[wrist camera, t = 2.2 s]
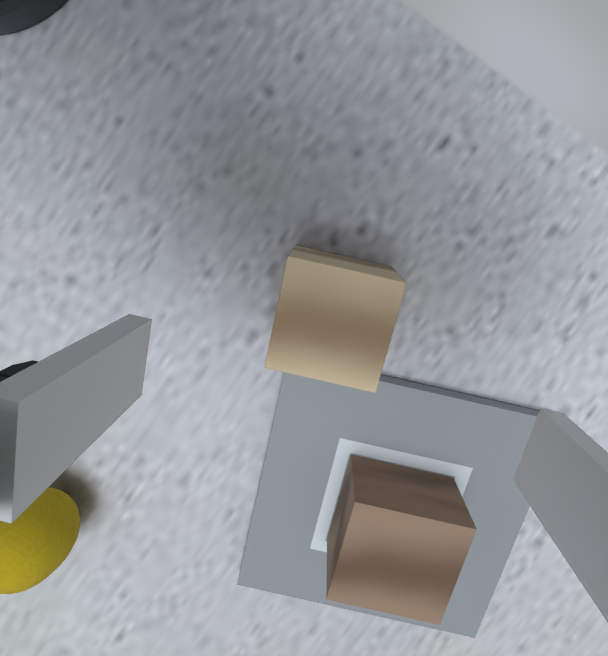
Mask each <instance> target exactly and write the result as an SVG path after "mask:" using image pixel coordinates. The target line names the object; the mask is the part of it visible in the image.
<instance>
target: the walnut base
mask: <svg viewBox="0 0 608 656" xmlns="http://www.w3.org/2000/svg"><path fill="white" fill-rule="evenodd" d="M476 530H477V529H476V526H475V524H474V522H473V520H472V518H471V515H470V513H469V511H468V509H467V506H466V504H465V502H464V500H463V498H462V495H461V493H460V491H459V489H458V486H457V484H456V482H455V480H454V478H453V477H448V476H444V475H439V474H435V473H430V472H426V471H422V470H417V469H413V468H408V467H404V466H400V465H395V464H391V463H386V462H382V461H377V460H373V459H369V458H364V457H360V456H355V455H351V456H350V460H349V463H348V467H347V470H346V474H345V478H344V481H343V485H342V488H341V492H340V495H339V499H338V502H337V506H336V510H335V513H334V517H333V520H332V524H331V527H330V531H329V535H328V538H327V581H326V600H330V601H335V602H339V603H344V604H348V605H353V606H357V607H362V608H366V609H371V610H375V611H379V612H384V613H388V614H393V615H397V616H402V617H406V618H411V619H415V620H420V621H424V622H428V623H433V624H437V625H440V624H441V621H442V618H443V616H444V613H445V611H446V608H447V605H448V603H449V600H450V598H451V595H452V593H453V590H454V587H455V585H456V582H457V580H458V577H459V574H460V572H461V569H462V567H463V564H464V561H465V559H466V556H467V554H468V551H469V549H470V546H471V543H472V541H473V538H474V536H475V533H476Z"/></svg>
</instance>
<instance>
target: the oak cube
mask: <svg viewBox="0 0 608 656" xmlns="http://www.w3.org/2000/svg"><path fill="white" fill-rule="evenodd" d="M405 287H406V282H405V281H404V280H403V279H402V278H401V277H400V275H399V274H398V273H397V272H396V271H395V270H394V269H393V268H392V267H390V266H386V265H382V264H377V263H373V262H368V261H364V260H360V259H355V258H351V257H346V256H342V255H338V254H333V253H329V252H324V251H320V250H316V249H311V248H307V247H302V246H298V245H296V246H295V248H294V249H293V250H292V251H291V252H290V254H289V255H288V257H287V262H286V266H285V271H284V276H283V281H282V286H281V291H280V295H279V300H278V305H277V310H276V315H275V319H274V324H273V329H272V334H271V339H270V344H269V348H268V353H267V358H266V363H265V368H268V369H272V370H277V371H281V372H286V373H290V374H294V375H299V376H303V377H308V378H312V379H317V380H321V381H325V382H330V383H334V384H339V385H343V386H348V387H352V388H356V389H361V390H365V391H370V392H374V393H376V389H377V386H378V382H379V379H380V375H381V371H382V368H383V364H384V361H385V357H386V354H387V350H388V347H389V343H390V340H391V336H392V333H393V329H394V326H395V322H396V319H397V315H398V312H399V308H400V305H401V301H402V298H403V294H404V291H405Z"/></svg>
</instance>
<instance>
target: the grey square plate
mask: <svg viewBox="0 0 608 656" xmlns="http://www.w3.org/2000/svg"><path fill="white" fill-rule="evenodd" d="M538 414H539V411H538V410H534V409H529V408H525V407H521V406H516V405H512V404H507V403H503V402H499V401H494V400H490V399H485V398H481V397H477V396H472V395H468V394H463V393H459V392H455V391H450V390H446V389H441V388H437V387H433V386H428V385H424V384H419V383H415V382H411V381H406V380H402V379H397V378H393V377H389V376H384V375H380V379H379V382H378V386H377V389H376V393H374V392H370V391H365V390H361V389H356V388H352V387H348V386H343V385H339V384H334V383H330V382H325V381H321V380H317V379H312V378H308V377H303V376H299V375H294V374H290V373H286V372H284V376H283V381H282V385H281V390H280V394H279V399H278V403H277V408H276V412H275V417H274V421H273V426H272V430H271V435H270V439H269V444H268V448H267V453H266V457H265V462H264V466H263V471H262V475H261V480H260V484H259V489H258V493H257V498H256V502H255V507H254V511H253V516H252V520H251V525H250V529H249V534H248V538H247V542H246V547H245V551H244V556H243V560H242V565H241V569H240V574H239V578H238V583H237V585H242V586H246V587H251V588H255V589H260V590H264V591H268V592H273V593H277V594H282V595H286V596H291V597H295V598H300V599H304V600H309V601H313V602H317V603H322V604H326V605H331V606H335V607H340V608H344V609H349V610H353V611H358V612H362V613H366V614H371V615H375V616H380V617H384V618H389V619H393V620H398V621H402V622H407V623H411V624H415V625H420V626H424V627H429V628H433V629H438V630H442V631H447V632H451V633H456V634H460V635H465V636H469V637H473V638H475V636H476V634H477V631H478V629H479V626H480V624H481V622H482V619H483V617H484V614H485V612H486V610H487V607H488V605H489V602H490V600H491V598H492V595H493V593H494V590H495V588H496V586H497V583H498V581H499V578H500V576H501V574H502V571H503V569H504V566H505V564H506V562H507V559H508V557H509V554H510V552H511V550H512V547H513V545H514V542H515V540H516V538H517V535H518V533H519V530H520V528H521V526H522V523H523V521H524V518H525V516H526V514H527V511H528V509H529V506H530V505H529V504H528V502H527V501H526V499H525V498H524V496H523V495H522V493H521V492H520V490H519V489H518V487H517V486H516V484H515V483H514V481H513V477H514V475H515V472H516V470H517V467H518V465H519V462H520V459H521V457H522V454H523V452H524V449H525V447H526V444H527V442H528V439H529V437H530V434H531V431H532V429H533V426H534V424H535V421H536V419H537V416H538ZM351 455H355V456H360V457H364V458H369V459H373V460H377V461H382V462H386V463H391V464H395V465H400V466H404V467H408V468H413V469H417V470H422V471H426V472H430V473H435V474H439V475H444V476H448V477H453V478H454V480H455V482H456V484H457V486H458V489H459V491H460V493H461V495H462V498H463V500H464V502H465V504H466V506H467V509H468V511H469V513H470V515H471V518H472V520H473V522H474V524H475V526H476V529H477V530H476V533H475V536H474V538H473V541H472V543H471V546H470V549H469V551H468V554H467V556H466V559H465V561H464V564H463V567H462V569H461V572H460V574H459V577H458V580H457V582H456V585H455V587H454V590H453V593H452V595H451V598H450V600H449V603H448V605H447V608H446V611H445V613H444V616H443V618H442V621H441V624H440V625H437V624H433V623H428V622H424V621H420V620H415V619H411V618H406V617H402V616H397V615H393V614H388V613H384V612H379V611H375V610H371V609H366V608H362V607H357V606H353V605H348V604H344V603H339V602H335V601H330V600H326V581H327V538H328V535H329V531H330V527H331V524H332V520H333V517H334V513H335V510H336V506H337V502H338V499H339V495H340V492H341V488H342V485H343V481H344V478H345V474H346V470H347V467H348V463H349V460H350V456H351Z"/></svg>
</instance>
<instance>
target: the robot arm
mask: <svg viewBox="0 0 608 656" xmlns="http://www.w3.org/2000/svg"><path fill="white" fill-rule="evenodd" d="M65 1H66V0H0V35H2V34H8V33H12V32H16V31H20V30H22V29H25V28H28V27H30V26H32V25H34V24H36V23H38V22H40V21H41V20H43V19H45V18H46V17H48V16H49V15H50V14H52V13H53V12H54V11H55V10H57V9H58V8H59V7H60V6H61V5H62V4H63V3H64V2H65ZM151 322H152V319H149V318H144V317H140V316H135V315H131V314H128V315H127V316H125V317H123V318H121V319H119V320H117V321H115V322H113V323H111V324H109V325H108V326H106V327H104V328H102V329H100V330H98V331H96V332H94V333H92V334H90V335H89V336H87V337H85V338H83V339H81V340H79V341H77V342H75V343H73V344H72V345H70V346H68V347H66V348H64V349H62V350H60V351H58V352H56V353H54V354H53V355H51V356H49V357H47V358H45V359H43V360H41V361H39V362H37V361H29V362H24V363H20V364H15V365H12V366H10V367H8V368H6V369H4V370H2V371H0V521H3V522H7V523H13V522H14V521H15V520H16V519H17V518H18V517H19V516H20V515H21V514H22V513H23V512H24V511H25V510H26V509H27V508H28V507H29V506H30V505H31V504H32V503H33V502H34V501H35V500H36V499H37V498H38V497H39V496H40V495H41V494H42V493H43V492H44V491H45V490H46V489H47V488H48V487H49V486H50V485H51V484H52V483H53V482H54V481H55V480H56V479H57V478H58V477H59V476H60V475H61V474H62V473H63V472H64V471H65V470H66V469H67V468H68V467H69V466H70V465H71V464H72V463H73V462H74V461H75V460H76V459H77V458H78V457H79V456H80V455H81V454H82V453H83V452H84V451H85V450H86V449H87V448H88V447H89V446H90V445H91V444H92V443H93V442H94V441H96V440H97V439H98V438H99V437H100V436H101V435H102V434H103V433H104V432H105V431H106V430H107V429H108V428H109V427H110V426H111V425H112V424H113V423H114V422H115V421H116V420H117V419H118V418H119V417H120V416H121V415H122V414H123V413H124V412H125V411H126V410H127V409H128V408H129V407H130V406H131V405H132V404H133V403H134V402H135V401H136V400H137V399H138V398H139V397H140V396H141V395H142V389H143V381H144V374H145V366H146V359H147V352H148V344H149V337H150V330H151ZM513 481H514V483H515V484H516V486H517V487H518V489H519V490H520V492H521V493H522V495H523V496H524V498H525V499H526V501H527V502H528V504H529V505H530V507H531V508H532V510H533V511H534V513H535V514H536V516H537V517H538V519H539V520H540V522H541V523H542V525H543V526H544V528H545V529H546V531H547V532H548V534H549V535H550V537H551V538H552V540H553V541H554V543H555V544H556V546H557V547H558V549H559V550H560V552H561V553H562V555H563V556H564V558H565V559H566V561H567V562H568V564H569V565H570V567H571V568H572V570H573V571H574V573H575V574H576V576H577V577H578V579H579V580H580V582H581V583H582V585H583V586H584V588H585V589H586V591H587V592H588V594H589V595H590V597H591V598H592V600H593V601H594V603H595V604H596V606H597V607H598V609H599V610H600V612H601V613H602V615H603V616H604V618H605V619H606V621H607V622H608V453H607V452H606V451H605V450H604V449H603V448H602V447H601V446H600V445H598V444H597V443H596V442H595V441H594V440H593V439H592V438H591V437H589V436H588V435H587V434H586V433H585V432H584V431H583V430H581V429H580V428H579V427H578V426H577V425H576V424H575V423H574V422H572V421H571V420H570V419H569V418H568V417H567V416H566V415H565V414H563V413H560V412H555V411H551V410H546V409H542V408H540V411H539V414H538V416H537V419H536V421H535V424H534V426H533V429H532V431H531V434H530V437H529V439H528V442H527V444H526V447H525V449H524V452H523V454H522V457H521V459H520V462H519V465H518V467H517V470H516V472H515V475H514V477H513Z"/></svg>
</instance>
